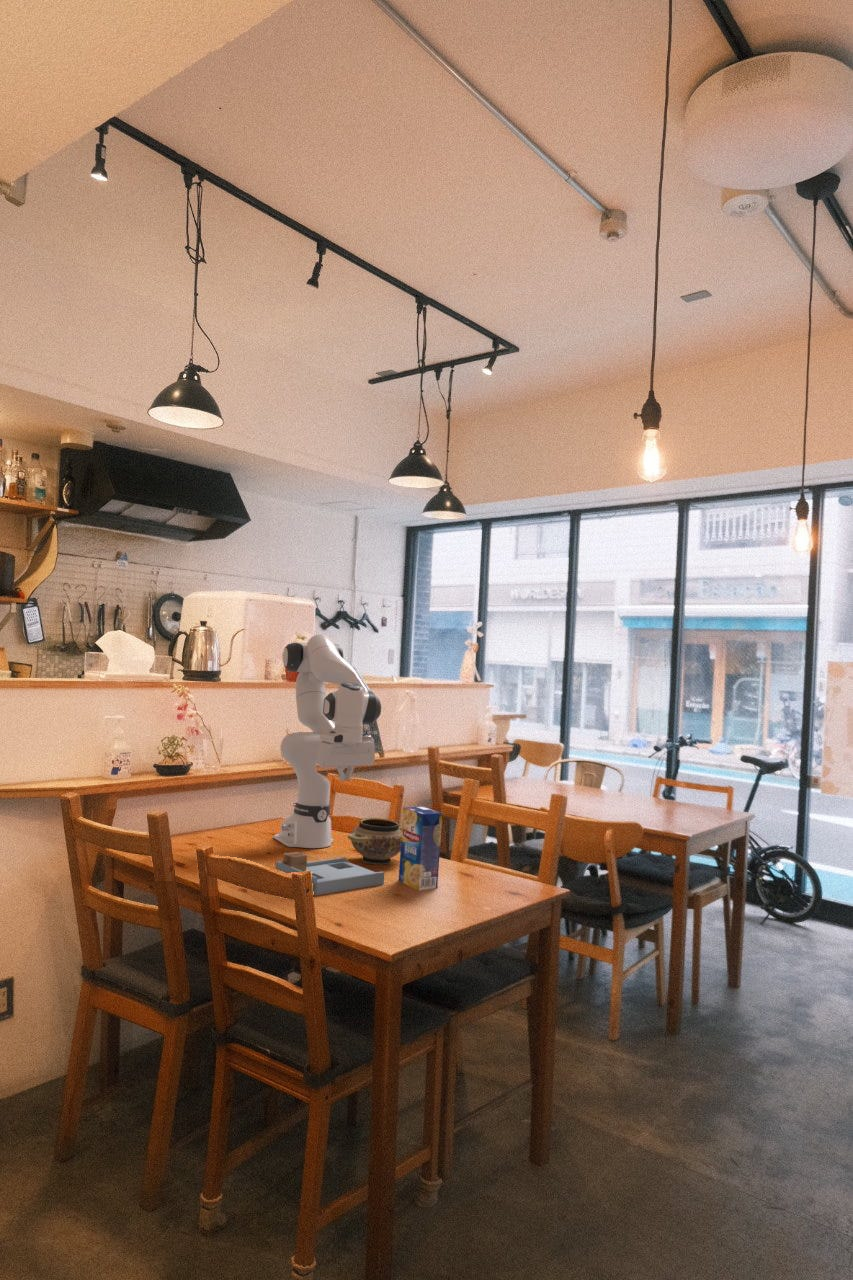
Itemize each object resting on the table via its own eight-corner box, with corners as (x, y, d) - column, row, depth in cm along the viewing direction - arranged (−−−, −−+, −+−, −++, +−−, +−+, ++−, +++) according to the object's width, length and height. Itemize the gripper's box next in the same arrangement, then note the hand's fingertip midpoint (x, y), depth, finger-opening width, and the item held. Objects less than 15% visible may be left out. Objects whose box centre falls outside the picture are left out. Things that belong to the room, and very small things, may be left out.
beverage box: (417, 878, 254) (422, 806, 254) (437, 888, 245) (442, 813, 245) (398, 880, 250) (403, 807, 250) (418, 890, 241) (423, 814, 241)
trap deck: (274, 878, 243) (275, 861, 243) (343, 868, 260) (344, 852, 260) (313, 895, 228) (314, 877, 229) (383, 884, 245) (384, 867, 245)
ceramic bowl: (357, 879, 259) (368, 835, 256) (327, 852, 272) (337, 810, 269) (417, 870, 275) (427, 828, 272) (385, 845, 288) (395, 805, 285)
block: (281, 870, 243) (283, 853, 243) (296, 868, 246) (297, 851, 246) (291, 874, 239) (292, 857, 239) (305, 872, 243) (307, 855, 243)
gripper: (368, 734, 266) (365, 777, 266) (315, 734, 253) (311, 780, 253) (380, 736, 262) (377, 780, 261) (327, 737, 248) (323, 783, 248)
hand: (344, 780), depth 257 cm, fingers closed
